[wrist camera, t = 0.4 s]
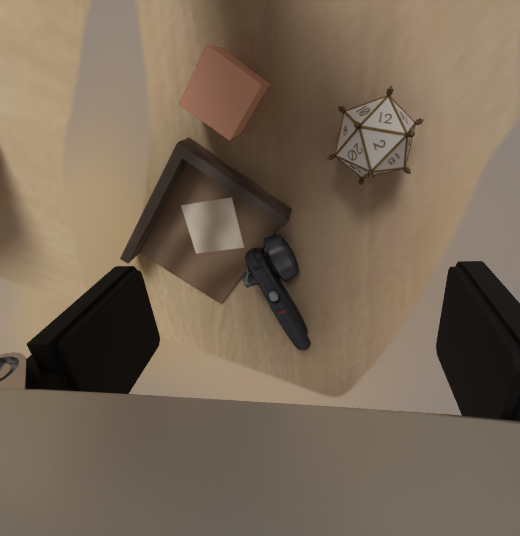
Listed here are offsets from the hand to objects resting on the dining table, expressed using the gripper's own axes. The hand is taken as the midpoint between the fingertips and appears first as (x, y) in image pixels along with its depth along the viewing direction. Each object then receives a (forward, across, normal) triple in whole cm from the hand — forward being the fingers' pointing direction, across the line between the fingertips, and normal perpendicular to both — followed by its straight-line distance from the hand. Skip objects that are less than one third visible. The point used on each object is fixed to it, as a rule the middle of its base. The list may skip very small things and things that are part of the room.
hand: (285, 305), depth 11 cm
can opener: (+33, +5, +19) cm, 39 cm away
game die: (+34, -6, 0) cm, 34 cm away
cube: (+33, +9, -6) cm, 35 cm away
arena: (+33, +15, +10) cm, 38 cm away
